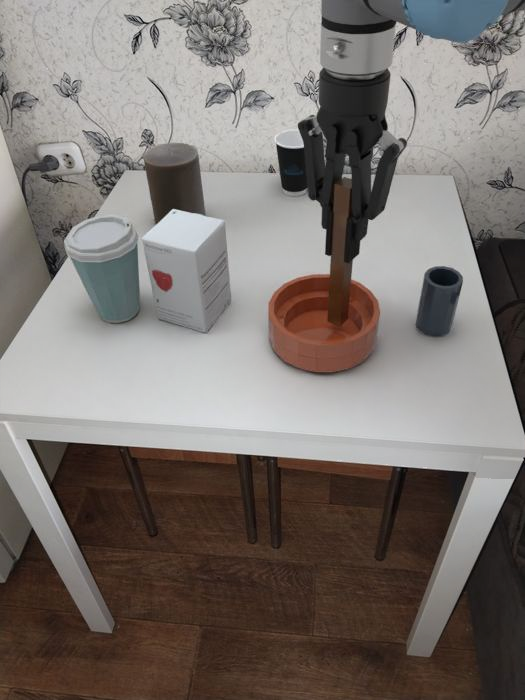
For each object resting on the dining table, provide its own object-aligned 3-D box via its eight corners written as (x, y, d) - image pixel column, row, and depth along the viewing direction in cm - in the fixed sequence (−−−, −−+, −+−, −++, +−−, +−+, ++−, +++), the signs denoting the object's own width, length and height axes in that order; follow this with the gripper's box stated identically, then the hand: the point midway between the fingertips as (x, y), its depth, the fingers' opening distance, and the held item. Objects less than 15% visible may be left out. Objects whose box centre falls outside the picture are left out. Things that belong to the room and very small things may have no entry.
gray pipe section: (457, 322, 89) (469, 274, 83) (441, 342, 86) (453, 293, 80) (425, 309, 91) (435, 261, 85) (409, 328, 88) (418, 280, 82)
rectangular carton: (155, 319, 92) (138, 237, 82) (185, 287, 98) (172, 206, 87) (206, 334, 89) (195, 251, 79) (233, 300, 95) (226, 218, 84)
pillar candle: (173, 242, 108) (160, 164, 97) (146, 220, 113) (131, 145, 103) (216, 223, 112) (208, 147, 101) (188, 203, 117) (178, 129, 107)
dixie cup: (302, 177, 124) (302, 125, 116) (321, 193, 118) (323, 140, 111) (268, 187, 121) (266, 134, 114) (287, 204, 116) (286, 150, 108)
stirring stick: (347, 319, 87) (359, 181, 71) (339, 327, 85) (350, 188, 70) (335, 313, 88) (344, 176, 72) (327, 321, 86) (334, 183, 71)
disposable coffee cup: (83, 336, 90) (56, 253, 79) (87, 293, 97) (63, 213, 87) (153, 327, 91) (135, 244, 80) (152, 285, 98) (135, 205, 88)
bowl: (394, 329, 88) (399, 298, 84) (338, 392, 79) (341, 361, 75) (308, 292, 95) (309, 262, 91) (248, 346, 87) (246, 315, 82)
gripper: (275, 65, 64) (279, 248, 80) (403, 94, 57) (378, 288, 73) (314, 46, 68) (310, 224, 84) (438, 70, 61) (407, 259, 77)
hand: (342, 253), depth 78 cm, fingers closed on stirring stick, 2 cm apart
